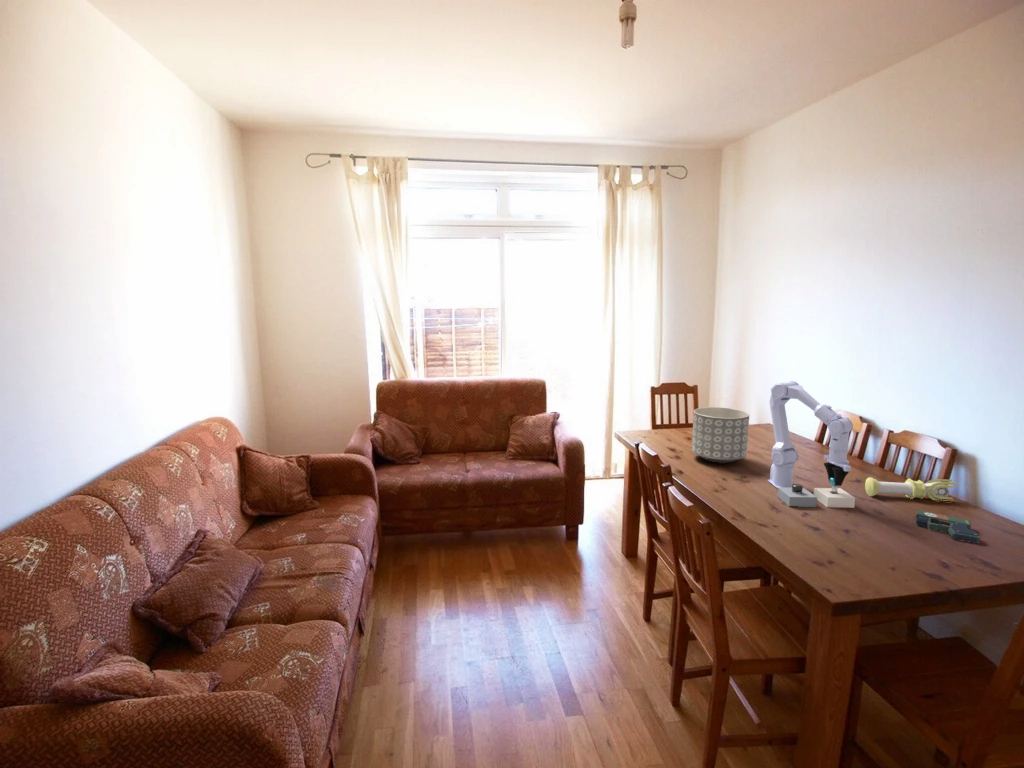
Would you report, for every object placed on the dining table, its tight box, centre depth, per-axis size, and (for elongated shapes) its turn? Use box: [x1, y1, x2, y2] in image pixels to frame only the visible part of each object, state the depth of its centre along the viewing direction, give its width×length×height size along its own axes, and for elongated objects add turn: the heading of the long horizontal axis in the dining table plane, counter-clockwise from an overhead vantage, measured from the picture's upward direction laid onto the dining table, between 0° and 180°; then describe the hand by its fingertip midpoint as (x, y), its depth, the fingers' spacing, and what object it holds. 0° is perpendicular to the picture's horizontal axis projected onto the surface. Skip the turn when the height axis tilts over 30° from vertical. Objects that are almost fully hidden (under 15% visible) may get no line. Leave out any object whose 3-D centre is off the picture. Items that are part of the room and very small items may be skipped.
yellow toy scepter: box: [864, 477, 958, 501], centre depth 203 cm, size 8×8×30 cm
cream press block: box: [812, 487, 856, 509], centre depth 200 cm, size 10×10×4 cm
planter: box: [691, 406, 750, 464], centre depth 252 cm, size 25×25×24 cm
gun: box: [915, 509, 981, 544], centre depth 175 cm, size 3×16×15 cm
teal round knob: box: [829, 477, 839, 494], centre depth 199 cm, size 4×4×6 cm
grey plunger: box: [792, 483, 804, 494], centre depth 200 cm, size 4×4×6 cm
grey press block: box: [776, 487, 818, 508], centre depth 200 cm, size 10×10×4 cm
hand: (835, 483), depth 199 cm, fingers closed on teal round knob, 4 cm apart
